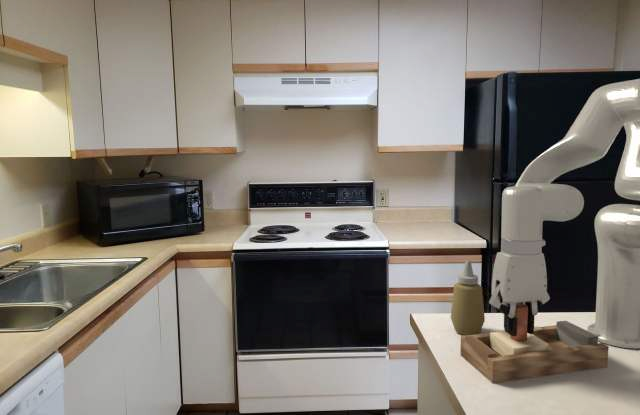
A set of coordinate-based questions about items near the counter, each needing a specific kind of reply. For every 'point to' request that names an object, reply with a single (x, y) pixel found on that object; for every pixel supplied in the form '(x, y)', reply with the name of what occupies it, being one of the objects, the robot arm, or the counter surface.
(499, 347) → the carriage
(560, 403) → the counter surface
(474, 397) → the counter surface
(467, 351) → the base
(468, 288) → the squeeze bottle
